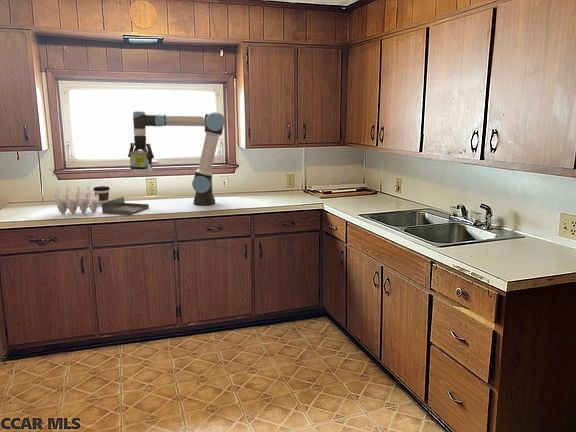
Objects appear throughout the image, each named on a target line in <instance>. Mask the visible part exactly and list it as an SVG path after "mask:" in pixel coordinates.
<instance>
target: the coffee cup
mask: <svg viewBox="0 0 576 432" xmlns="http://www.w3.org/2000/svg"><path fill="white" fill-rule="evenodd" d="M92 191H94V195H95V196H94V197H96V194H98V195H99V204H98V206H102V202H106V201H109V195H110V186H106V185H101V186H94V187H93V190H92Z"/></svg>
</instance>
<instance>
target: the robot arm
mask: <svg viewBox="0 0 576 432" xmlns="http://www.w3.org/2000/svg"><path fill="white" fill-rule="evenodd" d="M132 113H133V114H132V122H133V141H134V142H130V148H129V151H128V154H127V157H128V158H130V152H133V151H139V150H142V151H144V152H149V153H147V158H148V159H147V169H151V164H152V165H153V159H154V158H155V156H154V153H153V150H152V147H151V143H147V133H146V132H147V131H146V130H147V128H146V127H157V128H158V127H168V126H169V127H203V128H204V129H203V131H204V133H205V136H204V142H203V146H202V151H201V155H200V160H199V165H198V168H197V169H196V170H195V172H194V177H193V179H192V181H191V186H192V189H193V190H194V191H195V194H194V199H193V205H195V206H212V205H215V204H216V198H215V197H214V194H213V173H212V168H213V164H214V160H215V155H216V150H217V146H218V142H219V138H220V137H221V136H222V134H223V131H224V126H225V124H226V118H225V116H224V115H223V114H222V113H221V112H218V111H217V112H215V111H213V112H210V113H204V114H161V113H160V114H159V113H158V114H157V113H156V114H146V112H145V111H141V110H138V111H137V110H135V111H133V112H132ZM151 159H152V161H151Z"/></svg>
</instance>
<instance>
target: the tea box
mask: <svg viewBox="0 0 576 432" xmlns="http://www.w3.org/2000/svg"><path fill="white" fill-rule="evenodd" d="M147 153H149V152H144V151H143V150H138V151H134V150H133V152H130V157H129V159H130V160H129V163H130V164H129V168H130V169H129V170H130V175H141V176H142V175H143V176H144V175H147V174H150V173H153V163H152V164H151V169H147V159H148V158H147ZM151 161H152V162H153V159H151Z"/></svg>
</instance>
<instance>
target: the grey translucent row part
mask: <svg viewBox="0 0 576 432" xmlns="http://www.w3.org/2000/svg"><path fill="white" fill-rule="evenodd" d="M65 192H66V193H65V196H60V189H59V186H56V188H55V204H56V205H57V207H56V208H57V209H58V212H59V213H60V214H61V215H65V214H66V213H67V211H68V210H69V213H71V215H72V216H73V215H74V214H76V212H77V210H78V208H79V211H81V214H85V213H86V212H87V211H88V208H89V210H90V211H91V214H95V213H96V211H97V210H98V207H99V205H98V204H99V195H98V194H96V196H94V197H90V186H89V185H87V187H86V195H85V197H82V196H80V194H81V192H80V187H79V185H77V187H76V194H75V197H74V196H73V197H72V196H70V187H69V186H66V189H65Z"/></svg>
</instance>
